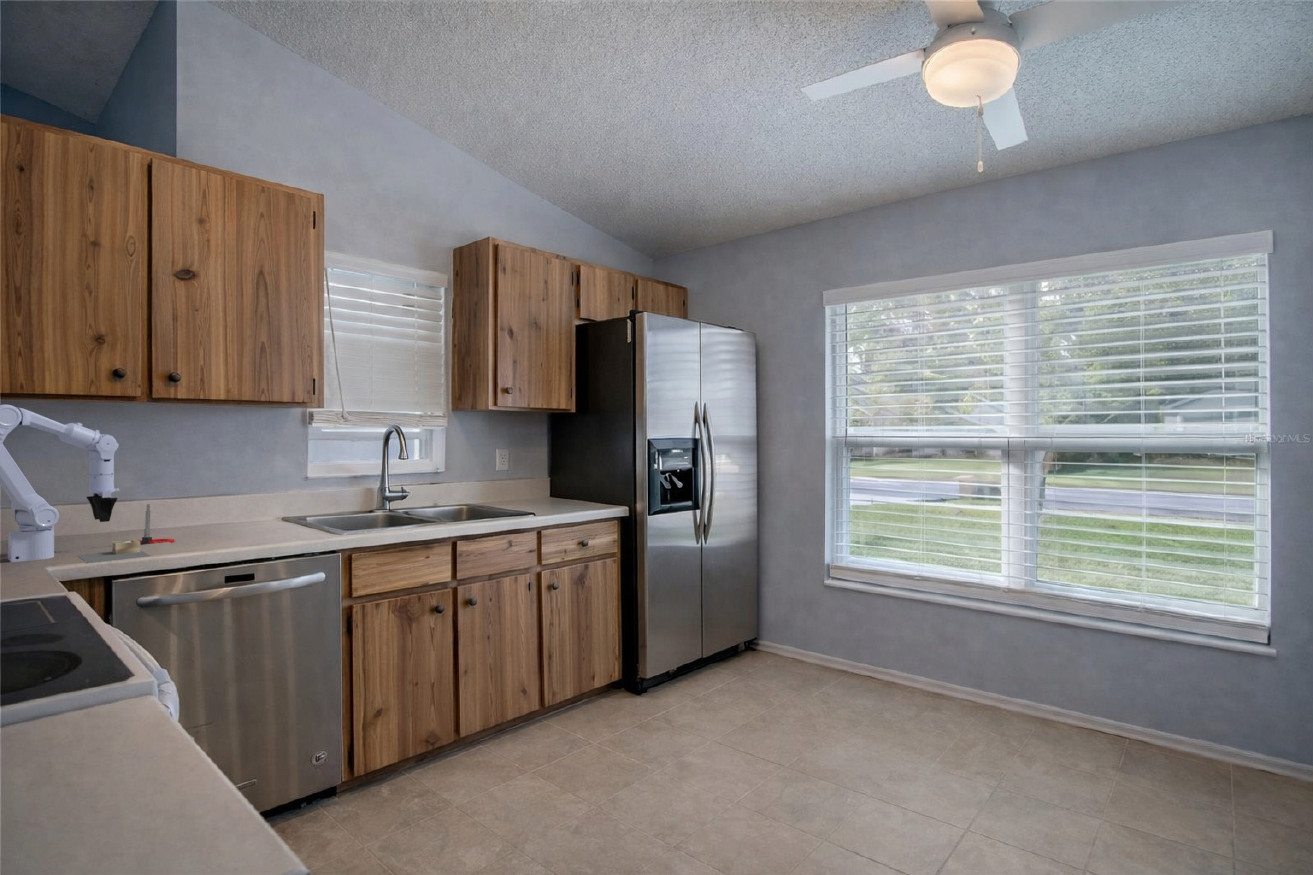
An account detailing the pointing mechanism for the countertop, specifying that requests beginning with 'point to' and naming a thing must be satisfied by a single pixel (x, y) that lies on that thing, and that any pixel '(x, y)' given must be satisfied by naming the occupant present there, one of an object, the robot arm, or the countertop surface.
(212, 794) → the countertop surface
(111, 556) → the post mat
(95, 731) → the countertop surface
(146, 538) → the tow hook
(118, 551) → the collar
